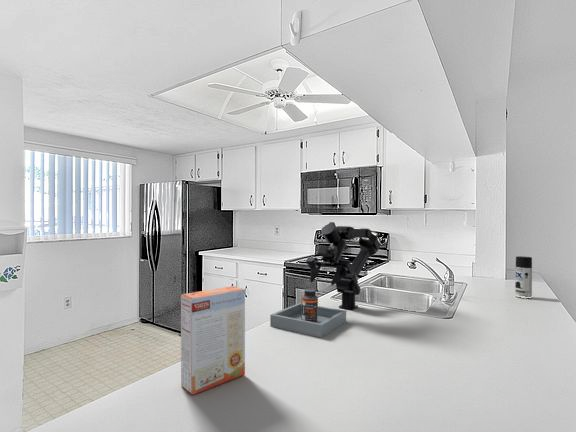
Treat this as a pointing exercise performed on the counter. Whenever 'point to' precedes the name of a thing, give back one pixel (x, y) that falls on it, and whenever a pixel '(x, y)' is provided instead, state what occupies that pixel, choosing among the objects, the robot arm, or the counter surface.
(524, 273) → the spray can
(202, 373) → the cracker box
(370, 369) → the counter surface
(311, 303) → the supplement bottle
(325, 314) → the gray square tray
